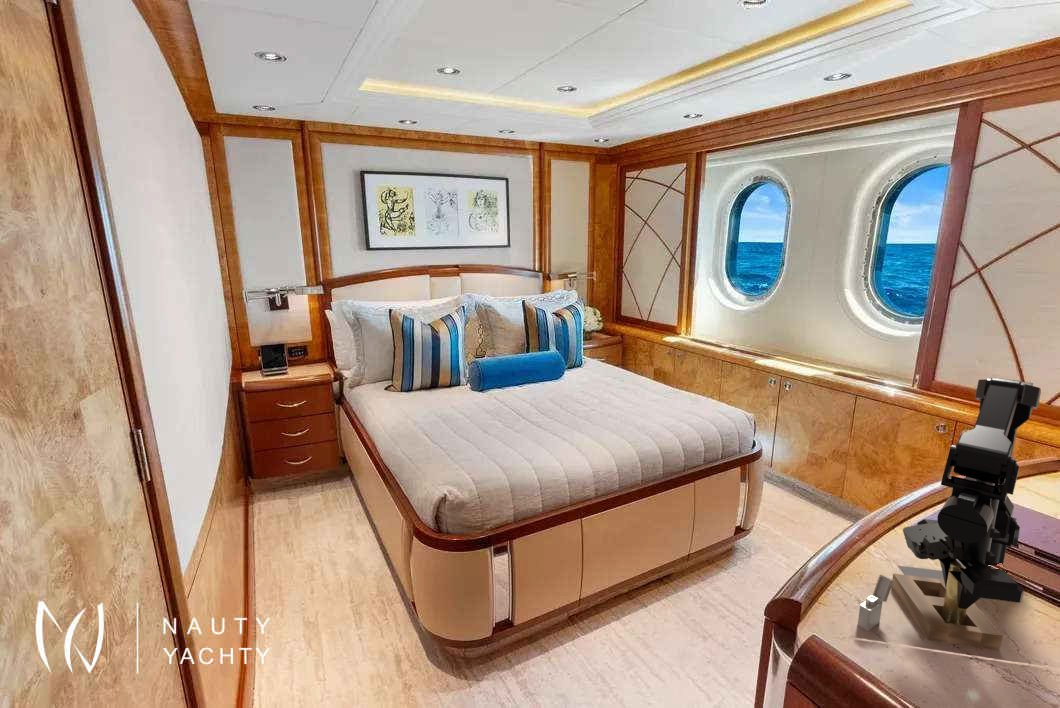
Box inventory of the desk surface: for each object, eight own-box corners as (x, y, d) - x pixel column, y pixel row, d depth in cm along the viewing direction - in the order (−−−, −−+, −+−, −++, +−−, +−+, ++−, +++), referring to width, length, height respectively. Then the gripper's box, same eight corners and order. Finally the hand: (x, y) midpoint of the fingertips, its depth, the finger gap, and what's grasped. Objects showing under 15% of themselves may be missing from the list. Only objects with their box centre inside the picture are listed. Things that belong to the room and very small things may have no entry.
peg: (958, 614, 86) (967, 562, 84) (968, 627, 84) (978, 573, 82) (937, 611, 87) (946, 560, 85) (947, 624, 84) (956, 571, 82)
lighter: (867, 632, 86) (873, 591, 84) (856, 626, 87) (862, 585, 86) (888, 617, 89) (894, 577, 88) (877, 611, 91) (883, 571, 89)
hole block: (951, 595, 94) (954, 580, 94) (999, 651, 81) (1002, 635, 81) (891, 587, 97) (893, 573, 96) (927, 641, 84) (930, 625, 83)
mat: (943, 572, 101) (943, 570, 101) (962, 594, 94) (963, 593, 94) (897, 566, 103) (897, 565, 103) (913, 588, 96) (914, 587, 96)
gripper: (889, 486, 92) (879, 562, 96) (943, 543, 75) (928, 633, 78) (960, 492, 90) (947, 570, 93) (1034, 553, 72) (1015, 646, 75)
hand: (956, 601), depth 85 cm, fingers closed on peg, 3 cm apart
